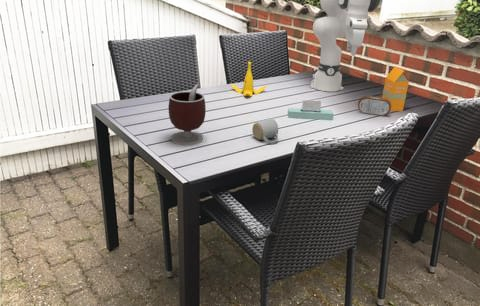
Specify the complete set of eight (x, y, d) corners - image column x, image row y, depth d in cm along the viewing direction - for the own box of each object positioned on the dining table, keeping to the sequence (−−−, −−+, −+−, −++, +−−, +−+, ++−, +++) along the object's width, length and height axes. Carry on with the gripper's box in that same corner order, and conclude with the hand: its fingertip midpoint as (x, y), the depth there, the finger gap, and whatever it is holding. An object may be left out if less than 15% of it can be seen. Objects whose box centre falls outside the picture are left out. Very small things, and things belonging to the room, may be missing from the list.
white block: (301, 117, 192) (303, 101, 188) (301, 115, 193) (302, 100, 190) (319, 118, 191) (321, 102, 188) (318, 116, 193) (320, 101, 190)
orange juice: (394, 105, 214) (402, 66, 206) (403, 110, 206) (411, 70, 198) (380, 105, 213) (387, 66, 205) (388, 111, 205) (396, 70, 197)
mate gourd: (194, 148, 155) (194, 96, 147) (162, 141, 160) (160, 90, 152) (213, 134, 168) (213, 86, 160) (182, 128, 173) (182, 81, 165)
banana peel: (246, 99, 212) (248, 67, 206) (230, 89, 228) (231, 58, 221) (274, 96, 220) (276, 64, 213) (257, 87, 235) (258, 57, 228)
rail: (287, 114, 195) (288, 107, 194) (330, 116, 194) (331, 110, 193) (288, 117, 190) (288, 111, 189) (332, 120, 190) (333, 113, 189)
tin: (389, 115, 199) (392, 98, 196) (389, 117, 197) (392, 100, 193) (356, 111, 203) (359, 94, 200) (356, 112, 201) (359, 96, 197)
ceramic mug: (250, 136, 168) (251, 118, 165) (266, 133, 172) (268, 115, 169) (266, 146, 160) (267, 128, 157) (283, 142, 165) (284, 124, 161)
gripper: (344, 17, 192) (340, 47, 198) (353, 24, 174) (347, 57, 180) (358, 18, 192) (353, 48, 198) (368, 25, 174) (362, 58, 180)
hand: (350, 52), depth 189 cm, fingers open, 8 cm apart
